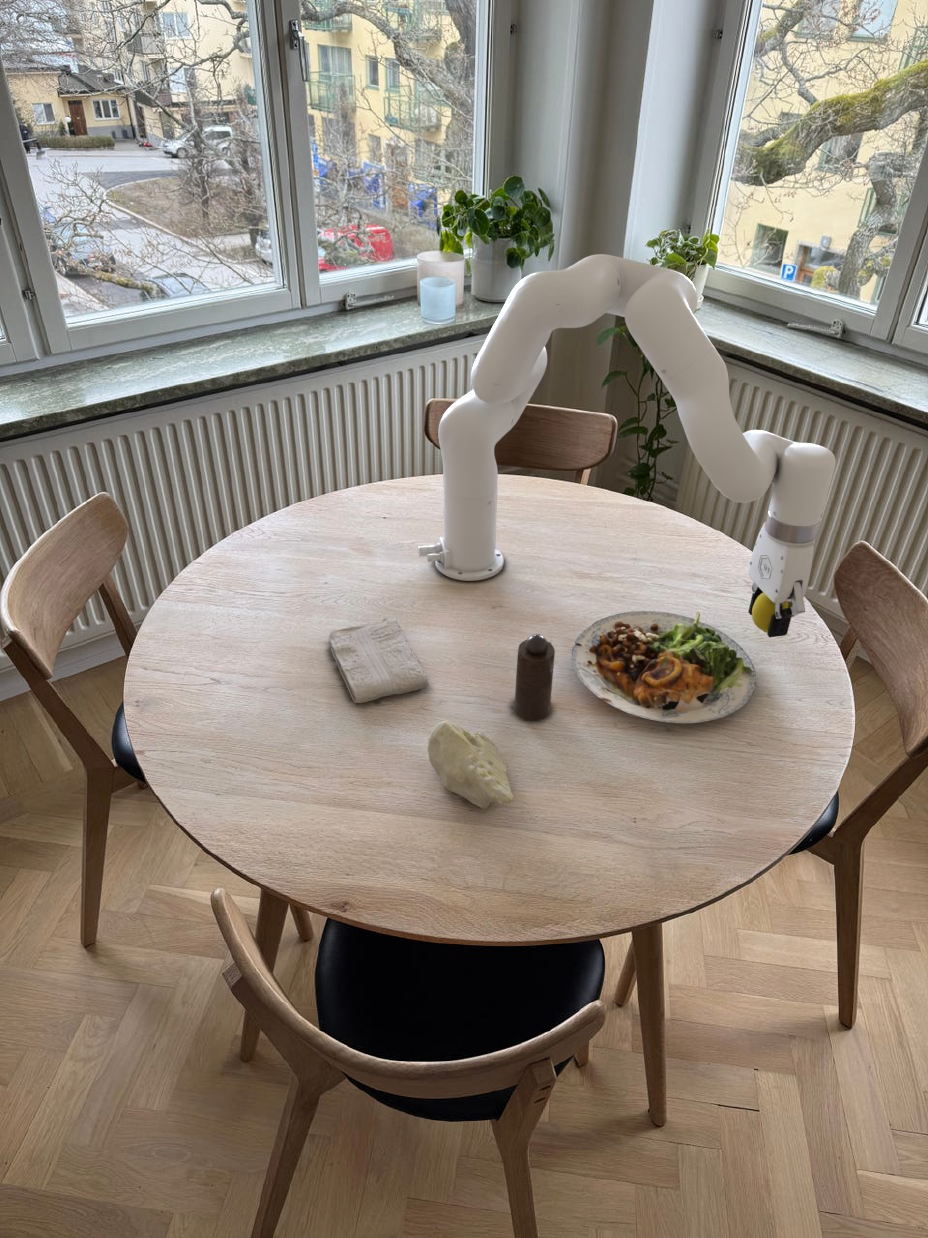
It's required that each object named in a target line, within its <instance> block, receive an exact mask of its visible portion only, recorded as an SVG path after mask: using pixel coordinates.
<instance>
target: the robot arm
mask: <svg viewBox="0 0 928 1238" xmlns="http://www.w3.org/2000/svg"><path fill="white" fill-rule="evenodd" d="M698 300H699V299H698V293H697V288H696V286H695V285H694V283H693V282H692V281H691V279H689V278H688V277H687V276H686V275H685V274H683V273H681V272H679V271H676V270H674V269H671V268H667V267H662V266H658V265H655V264H650V263H647V262H641V261H637V260H633V259H628V258H624V257H621V256H615V255H611V254H605V253H600V254H599V253H598V254H591V255H589V256H586V257H584V258H582V259H580V260H578V261H577V262H575V263H574V264H572V265H570V266H568V267H566V268H563V269H558V270H543V271H537V272H533V273H530V274H529V275H527V276H525V277H523V278H522V279H521V280H519V281H518V282H517V284H515V286H514V287H513V289H512V290H511V291H510V293H509V295H508V297H507V298H506V300H505V302H504V304H503V306H502V308H501V310H500V312H499V314H498V316H497V318H496V320H495V322H494V323H493V325H492V327H491V329H490V331H489V332H488V335H487V336H486V339H485V341H484V342H483V345H482V346H481V349H480V350H479V352H478V353H477V355H476V358H475V359H474V362H473V364H472V366H471V371H470V384H471V388H472V389H471V390H470V391H469V392H467V393H465V394H463V396H461V397H460V398H459V399H457V400H455V401H454V402H453V403H452V404H451V405H450V406H449V407H448V408H447V409H446V410H445V411H444V413H443V415H442V416H441V417H440V418H441V419H440V420H439V425H438V431H437V433H438V434H437V435H438V442H439V448H440V455H441V460H442V487H443V488H442V489H443V490H442V491H443V492H442V493H443V494H442V496H443V497H442V499H443V501H442V503H443V506H442V507H443V509H442V511H443V515H442V517H443V521H442V522H443V523H442V525H443V532H442V533H443V535H442V536H440V537H439V542H437V543H434V544H433V545H421V546H417V556H418V557H419V558H423V557H426V561H427V562H428V563H431V562H434V565H435V568H436V569H437V570H438V571H439V573H441V574H442V575H444V576H446V577H448V578H450V579H453V580H458V581H464V582H475V581H482V580H486V579H490V578H492V577H494V576H496V575H497V574H498V573H500V572H501V570H502V569H503V567H504V561H505V560H504V555H503V554H502V552H501V551H500V550H499V549H497V548H496V547H497V546H496V545H497V523H498V521H497V519H498V493H499V492H498V491H499V487H498V486H499V471H498V465H497V460H496V456H495V448H496V447H495V446H496V445H497V444H498V442H499V441H501V439H502V438H504V436H506V434H507V433H509V432H510V431H511V430H512V429H513V428H514V426H515V425H516V424H517V423H518V421H519V420H520V417H521V416H522V414H523V412H524V411H525V409H526V407H527V405H528V404H529V402H530V400H531V398H532V397H533V395H534V393H535V391H536V389H537V388H538V386H539V384H540V383H541V381H542V380H543V377H544V375H545V372H546V370H547V366H548V365H547V364H548V352H547V349H546V345H547V344H548V341H549V340H550V337H551V335H552V332H553V331H554V330H556V329H579V328H583V327H587V326H589V325H591V324H593V323H594V322H596V321H597V320H598V319H599V318H601V317H602V316H603V315H605V314H610V315H614V316H618V317H622V318H624V321H625V325H626V327H627V329H628V332H629V333H630V335H631V336H632V338H633V340H634V341H635V343H636V344H637V345H638V347H639V349H640V350H641V352H642V353H643V355H644V356H645V358H646V359H647V360H648V363H650V365H651V367H652V368H653V370H654V371H655V373H656V375H658V378H660V380H661V381H662V383H663V385H664V386H665V388H666V389H667V391H668V392H669V394H670V395H671V397H672V399H673V401H674V403H675V406H676V410H677V414H678V417H679V420H680V423H681V425H682V428H683V431H684V433H685V436H686V439H687V442H688V445H689V446H690V449H691V450H692V453H693V455H694V457H695V459H696V461H697V462H698V463H699V465H700V466H701V468H702V470H703V471H704V473H705V474H706V475H707V478H709V480H710V482H711V483H712V484H713V485H714V487H715V489H717V490H718V492H719V493H721V494H722V495H723V496H724V497H725V498H727V499H728V500H730V501H733V502H735V503H739V504H740V503H741V504H746V503H752V502H755V501H757V500H759V499H760V498H761V497H763V496H764V495H765V494H766V492H767V491H768V490H769V487H770V486H771V485H772V486H773V490H772V493H771V497H770V503H769V505H768V511H767V515H766V520H765V521H764V522H763V524H762V526H761V528H760V530H759V533H758V534H757V538H756V539H755V543H754V546H753V550H752V553H751V557H750V560H749V564H748V570H747V574H748V576H749V578H750V579H751V580H752V582H753V583H752V585H751V591H752V595H751V599H750V603H749V607H748V614H749V615H750V616H752V609H753V605H754V603H755V601H756V599H757V598H758V596H759V595H760V594H761V593H763V592H764V594H765V595H766V596H767V597H768V598H769V599H770V600H771V601H772V602H774V603H775V615H772V617H771V620H770V624H769V628H768V632H766V635H767V636H768V638H776V637H784V636H786V635H788V631H789V628H790V624H791V620H792V618H794V617H795V616H797V615H801V614H804V613H805V612H806V605H805V601H804V597H805V595H806V592H807V589H808V585H809V582H810V576H811V571H812V568H813V559H814V552H815V551H814V550H815V543H814V542H815V541H816V539H817V536H818V532H819V527H820V523H821V521H822V520H821V519H822V516H823V513H824V509H825V507H826V506H825V505H826V501H827V497H828V494H829V490H830V486H831V483H832V480H833V476H834V473H835V468H836V464H837V463H836V456H835V455H834V453H833V452H832V451H831V450H830V449H828V448H827V447H825V446H822V445H820V444H815V443H811V442H798V441H794V440H791V439H789V438H785V437H783V436H780V435H777V434H775V433H772V432H770V431H766V430H761V429H751V430H747V431H744V432H742V430H741V428H740V426H739V424H738V421H737V419H736V417H735V414H734V411H733V407H732V403H731V397H730V381H729V380H730V379H729V373H728V368H727V364H726V363H725V361H724V359H723V358H722V356H721V355H720V354H719V352H718V350H717V349H716V347H715V346H714V345H713V343H712V341H711V340H710V339H709V337H708V335H707V333H706V332H705V331H704V329H703V328H702V326H701V325H700V322H699V321H698V320H697V318H696V316H695V315H694V314H695V312H696V309H697V306H698ZM786 602H788V608H786V609H783V610H782V605H783V603H786Z"/></svg>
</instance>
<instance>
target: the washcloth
mask: <svg viewBox="0 0 928 1238" xmlns="http://www.w3.org/2000/svg"><path fill="white" fill-rule="evenodd" d="M328 641H329V643H330V651H331V654H332V657H333V659H334V660H335V662H336V665H337V668H338V670H339V673H340V675H341V677H342V679H343V682H344V683H345V686H346V688H347V690H348V693H349V695H350V697H351V699H352V701H353V703H355V704H357V703H358V704H363V703H367V702H371V701H375V700H379V699H380V698H383V697H388V696H393V695H401V694H405V693H409V692H414V691H417V690H422V689H425V688H427V687H428V686H430V684H429V681H428V677H427V674H426V673H425V672H424V669H423V668H422V665H421V664H420V662H419V660H418V659H417V657H416V655H415V653H414V651H413V648H411V646H410V644H409V641H408V640H407V639H406V637H405V634H404V633H403V630H402V627H401V626H400V624H399V622H398V620H396V619H395V618H383V619H381V620H380V621H375V622H370V623H365V624H359V625H351V626H346V627H341V628H337V629H332V630H331V632H330V633H329V635H328Z"/></svg>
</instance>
